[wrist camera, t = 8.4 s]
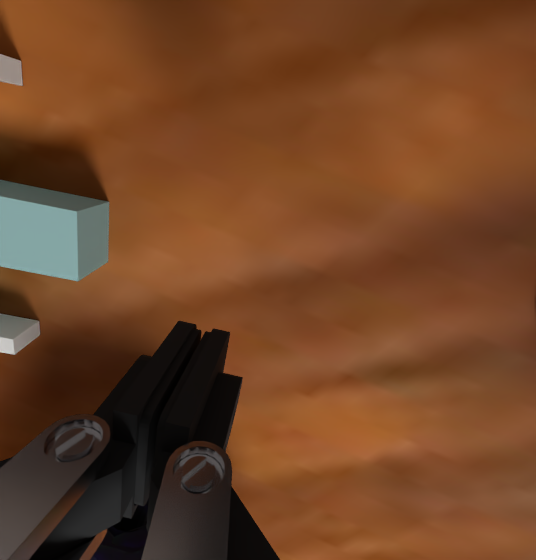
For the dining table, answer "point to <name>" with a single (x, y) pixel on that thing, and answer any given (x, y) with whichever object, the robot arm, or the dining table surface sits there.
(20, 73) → the dock
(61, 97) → the dining table surface
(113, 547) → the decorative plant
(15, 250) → the t block
